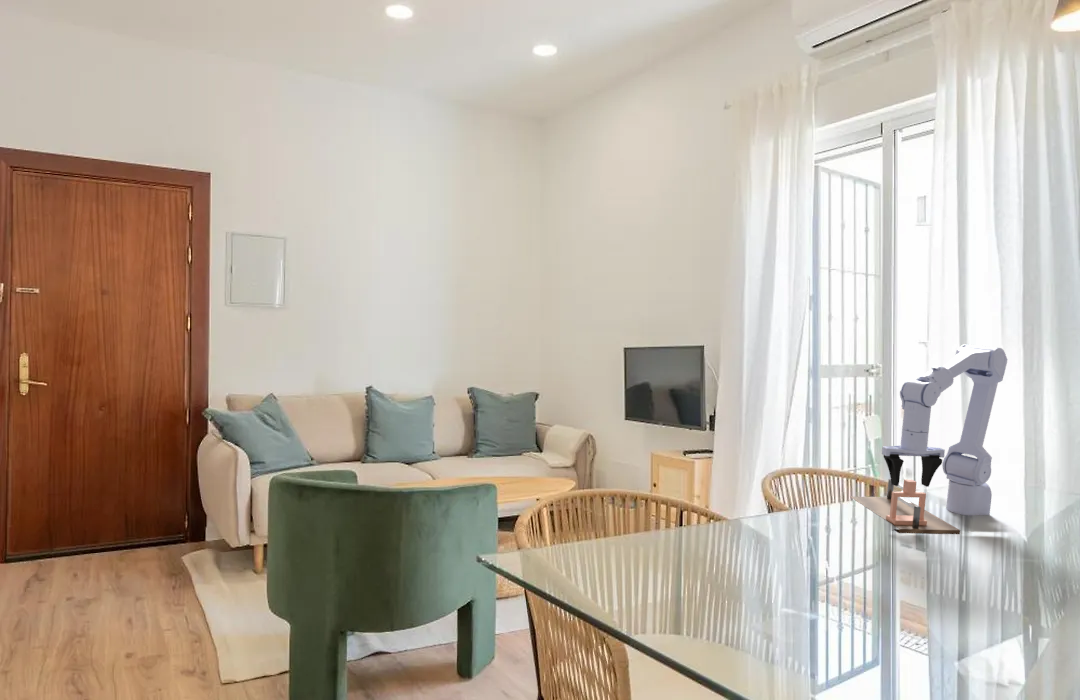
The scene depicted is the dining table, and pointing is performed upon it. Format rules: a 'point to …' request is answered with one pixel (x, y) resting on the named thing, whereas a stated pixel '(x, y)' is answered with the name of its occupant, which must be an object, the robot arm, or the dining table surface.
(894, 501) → the frame
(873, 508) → the base board
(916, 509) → the bent wire
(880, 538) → the dining table surface
